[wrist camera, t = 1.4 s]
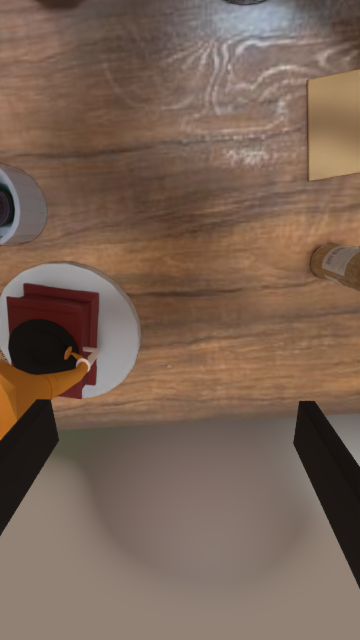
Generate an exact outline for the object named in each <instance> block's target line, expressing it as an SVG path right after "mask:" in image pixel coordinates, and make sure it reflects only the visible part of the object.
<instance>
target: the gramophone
mask: <svg viewBox="0 0 360 640" xmlns="http://www.w3.org/2000/svg"><path fill="white" fill-rule="evenodd" d="M140 344H141V328H140V319H139V317H138V315H137V312H136V310H135V308H134V305H133V303H132V300H131V299H130V298H129V297H128V295H127V294H126V293H125V292H124V291H123V289H122V288H121V287H120V286H119V285H118V283H117V282H116V281H114V280H113V279H111V278H110V277H108V276H107V275H105V274H103V273H102V272H100V271H99V270H97V269H96V268H93V267H89V266H86V265H82V264H79V263H76V262H48V263H44V264H41V265H39V266H36V267H33V268H31V269H28V270H26V271H23V272H21V273H20V274H19V275H17V276H16V277H15V278H14V279H13V280H12V281H11V282H10V283H9V284H8V285H7V286H5V288H4V290H3V292H2V294H1V296H0V348H1V350H2V352H3V353H4V355H5V357H6V358H7V360H8V362H9V363H10V364H8V363H6V362H4V361H1V360H0V440H1V439H2V438H3V437H4V435H5V434H6V433H7V432H8V431H9V430H10V429H11V428H12V426H13V425H14V424H15V423H16V422H17V421H18V420H19V418H20V417H21V416H22V415H23V414H24V413H25V412H26V411H27V409H28V408H29V407H30V406H31V405H32V404H33V403H34V402H35V400H36V399H51V400H52V399H53V398H54V397H57V396H61V397H65V398H76V399H82V398H89V397H93V396H96V395H100V394H103V393H106V392H108V391H110V390H111V389H112V388H114V387H115V386H117V385H118V384H120V383H121V382H122V381H123V380H124V379H125V377H126V376H127V375H128V373H129V372H130V370H131V369H132V368H133V366H134V364H135V362H136V359H137V356H138V352H139V348H140Z"/></svg>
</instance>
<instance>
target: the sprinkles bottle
mask: <svg viewBox="0 0 360 640" xmlns="http://www.w3.org/2000/svg"><path fill="white" fill-rule="evenodd" d="M311 268H312V270H313V272H314V273H315V274H316V275H317V276H319V277H321V278H326V279H329V280H330V281H332V282H335V283H338V284H340V285H343V286H347V287H350V288H353V289H355V290H358V291H360V247H357V246H348V245H339V244H334V243H329V244H325V245H323V246H321V247H320V248H318V250H316V252H315V253H314V255H313V257H312V260H311Z"/></svg>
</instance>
